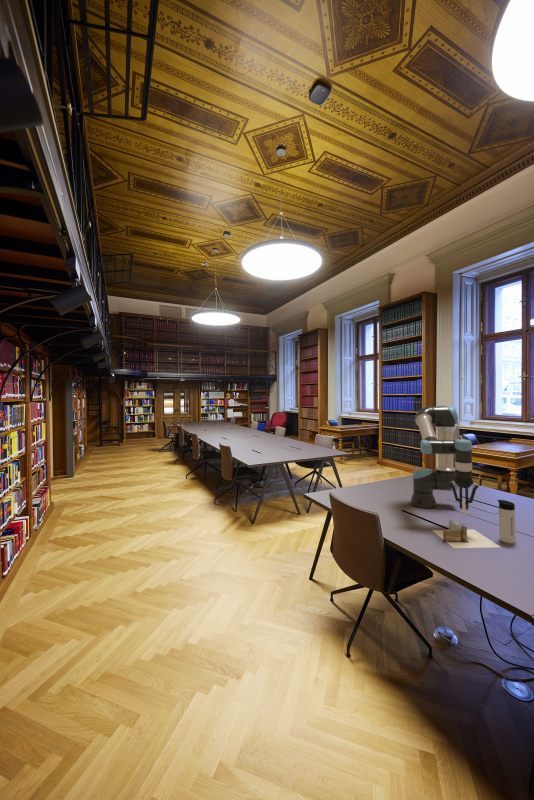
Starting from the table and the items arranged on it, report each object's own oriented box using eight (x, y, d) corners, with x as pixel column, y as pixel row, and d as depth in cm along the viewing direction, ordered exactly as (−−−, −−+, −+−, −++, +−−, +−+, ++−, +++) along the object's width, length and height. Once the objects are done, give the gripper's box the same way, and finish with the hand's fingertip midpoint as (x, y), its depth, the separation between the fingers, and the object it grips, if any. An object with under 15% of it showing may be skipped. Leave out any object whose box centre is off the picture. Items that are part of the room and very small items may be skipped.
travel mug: (499, 538, 159) (498, 498, 159) (515, 541, 155) (515, 500, 154) (498, 542, 154) (497, 501, 154) (515, 546, 150) (514, 504, 150)
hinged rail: (463, 538, 157) (463, 528, 157) (460, 538, 157) (460, 528, 157) (451, 529, 168) (451, 520, 168) (448, 529, 168) (448, 520, 168)
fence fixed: (442, 540, 157) (442, 526, 157) (465, 539, 157) (464, 525, 157) (444, 542, 154) (444, 528, 154) (468, 542, 154) (467, 527, 154)
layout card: (432, 531, 168) (432, 530, 168) (473, 530, 168) (473, 529, 168) (454, 549, 148) (453, 548, 148) (501, 548, 148) (501, 547, 148)
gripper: (478, 469, 164) (478, 514, 164) (448, 467, 170) (449, 510, 171) (479, 473, 157) (479, 520, 158) (448, 470, 164) (449, 515, 165)
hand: (464, 515), depth 165 cm, fingers closed
